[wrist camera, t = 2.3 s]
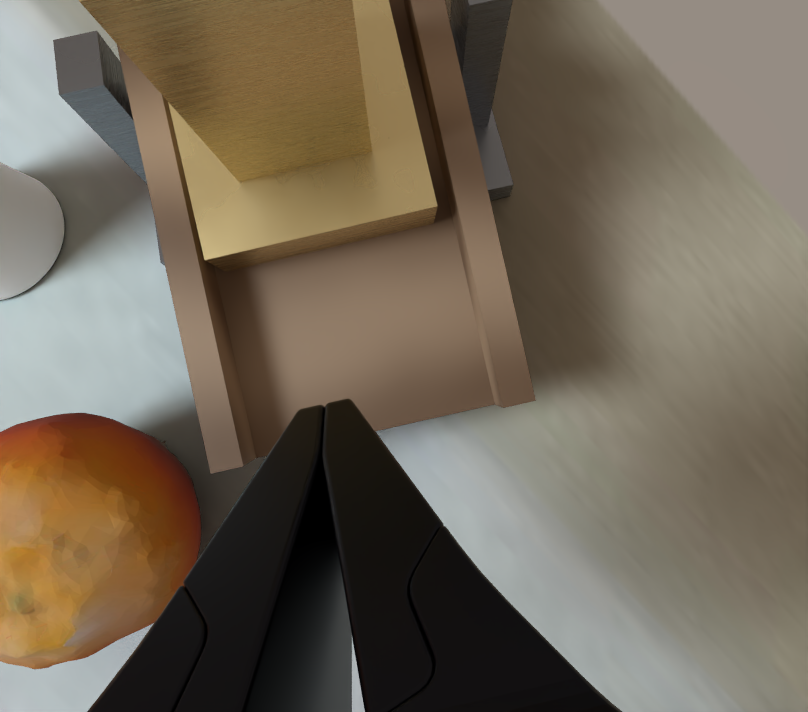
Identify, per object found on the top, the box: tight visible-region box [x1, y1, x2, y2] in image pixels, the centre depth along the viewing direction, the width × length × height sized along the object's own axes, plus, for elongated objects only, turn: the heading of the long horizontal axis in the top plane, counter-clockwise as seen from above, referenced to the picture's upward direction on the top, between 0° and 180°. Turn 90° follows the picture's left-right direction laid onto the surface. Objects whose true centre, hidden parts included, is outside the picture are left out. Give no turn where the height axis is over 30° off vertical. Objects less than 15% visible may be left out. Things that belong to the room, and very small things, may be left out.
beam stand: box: [53, 0, 513, 265], centre depth 21 cm, size 8×15×8 cm, turn 103°
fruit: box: [0, 413, 201, 669], centre depth 19 cm, size 8×8×8 cm
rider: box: [79, 0, 437, 272], centre depth 13 cm, size 8×7×10 cm
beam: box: [117, 0, 536, 474], centre depth 19 cm, size 26×11×4 cm, turn 12°
